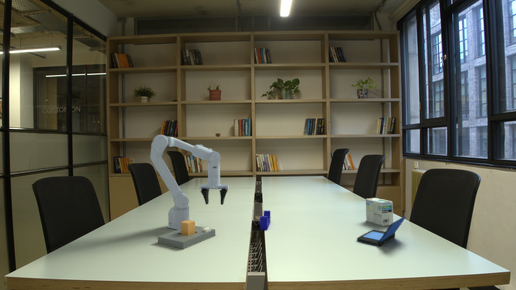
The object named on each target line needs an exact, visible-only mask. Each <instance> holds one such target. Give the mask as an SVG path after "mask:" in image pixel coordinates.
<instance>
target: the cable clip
mask: <svg viewBox="0 0 516 290" xmlns="http://www.w3.org/2000/svg"><path fill="white" fill-rule="evenodd" d="M258 225H259V227H260V228H259V229H260V231H267V230H269V227H270V225H271V210H263V215H261V216H260V217H259V224H258Z"/></svg>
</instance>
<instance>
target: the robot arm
mask: <svg viewBox="0 0 516 290" xmlns="http://www.w3.org/2000/svg"><path fill="white" fill-rule="evenodd" d="M150 145H151V148H150V155H149V156H150V157H149V159H150V161H151V162H152V164H153V166H154V167H155V169H156V171H157V172H158V174H159V175H160V178H161V179H162V181H163V182H164V184H165V186H166V188H167V189H168V191H169V193H170V194H171V197H172V198H173V202H174V205H173V207H171V208H170V209H169V210H168V213H167V214H168V215H167V217H168V219H167V220H168V221H167V222H168V225H167V226H166V228H167V229H168V228H169V229H173V230H178V229H181V222H183V221H186V220H190V205H189V203H190V200H189V198H188V196H187V194H186V193H185V192H183V191H182V190H181V188H180V186H179V185H178V183H177V181H176V180H175V178H174V176H173V174H172V172H171V171H170V170H169V168H168V165H167V164H166V162H165V161H164V159H163V154H164V151H165V149H166V148H167V147H171V148H172V147H177V148H179V149H182V150H184V151H187V152H190V153H191V154H192V156H193V157H196V158H198V159H201V160H203V161H207V165H208V166H207V184H199V185H198V188H199V190H200V193H201V195H202V196H203V199H204V203H205V205H208V204H209V202H210V201H209V192H210V190H219V193H220V195H219V196H220V205H221V206H222V205H224V202H225V198H226V195H227V193H228V190H230V184H221V166H220V165H221V163H220V161H222V156H221V154H220V153H219V152H218V151H215V150H213V149H212V148H208V147H205V146H204V145H203V144H201V143H200V144H195V145H192V144H190V143H188V142H185V141H183V140H180V139H178V138H175V137H173V136H166V135H164V134H158V135H156V136H154V138H153V140H152V142H151V144H150Z"/></svg>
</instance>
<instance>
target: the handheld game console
mask: <svg viewBox="0 0 516 290" xmlns="http://www.w3.org/2000/svg"><path fill="white" fill-rule="evenodd" d="M405 219H406V216H402V217H400V218H399V219H397V220H395V221H393V223H392V224H391V225H388V227H387V228H386V230H385V231H384V230H379V229H371V230H369V231H367V232H365V233H364V234H362V235H360V236H359V237H357V238H356V240H357V242H359V243H362V244H363V243H364V244H367V245H372V246H376V247H382V246H383V245H384V244H385V243H387V241H390V240H392V239H394V238H395V237H396V232H397V231H398V229H399V228H400V226H401V225H402V223H403V222H404V221H405Z"/></svg>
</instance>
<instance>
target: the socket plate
mask: <svg viewBox="0 0 516 290" xmlns="http://www.w3.org/2000/svg"><path fill="white" fill-rule="evenodd" d="M215 236H216V229H215V228H214V229H213V228H212V227H209V226H207V227H203V226H198V225H195V233H194V234H192V235H189V236H184V235H181V229H178V230H177V229H174V230H173V231H171V232H167V233H164V234H161V235H158V236H157V244H161V245H164V246H168V247H173V248H176V249H182V250H186V249H188V248H191V247H192V246H194V245H197V244H199V243H201V242H203V241H206V240H208V239H210V238H213V237H215Z"/></svg>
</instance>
